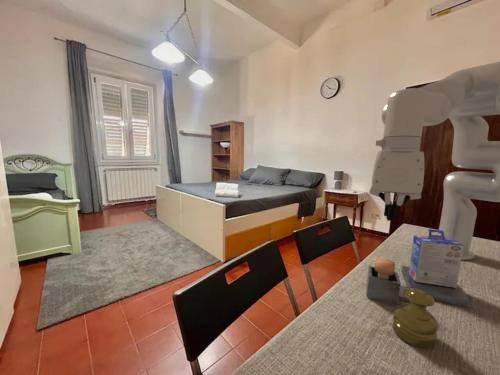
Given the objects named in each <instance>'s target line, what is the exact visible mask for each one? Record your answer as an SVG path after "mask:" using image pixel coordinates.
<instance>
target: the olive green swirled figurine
mask: <svg viewBox="0 0 500 375" xmlns="http://www.w3.org/2000/svg"><path fill="white" fill-rule="evenodd" d="M404 295H405V296H406V297H407V298H408V299H409V301H410V302H406V303H400V304H398V305H397V306H394V310H393V311H394V312H393V313H394V315H393V317H392V329H393V332H394V333H395V334H396V336H397V337H399V339H401V340H402V341H404V342H405V343H407V344H409V345H411V346H413V347H416V348H418V349H423V350H429V349H433V348H435V346H436V343H437V338H438V331H439V328H440V324H439V322H438V320H437V318H435V316H434V315H433V314H431V312H430V311H429V310H428V309H427V307H432V306H434V305H435V303H436V302H435V301H436V300H434V298H433V297H432V296H431V295H429V294H428V293H426V292H424V291H423V290H421V289H415V288H409V289H406V290H405V291H404Z"/></svg>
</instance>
